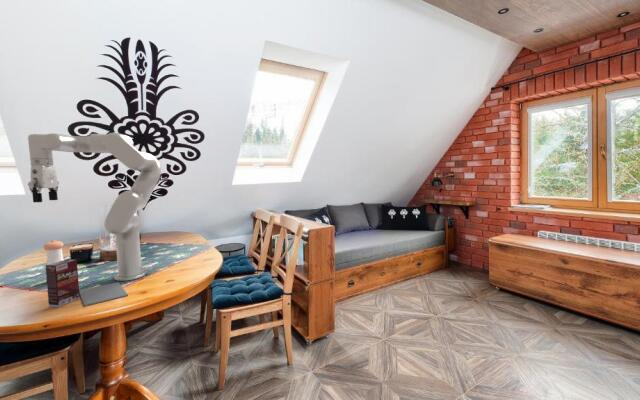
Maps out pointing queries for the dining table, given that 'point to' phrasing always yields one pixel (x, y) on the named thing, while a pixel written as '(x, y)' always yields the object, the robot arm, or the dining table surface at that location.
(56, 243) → the pepper shaker
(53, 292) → the supplement box
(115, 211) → the robot arm
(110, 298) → the mat
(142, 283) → the dining table surface
